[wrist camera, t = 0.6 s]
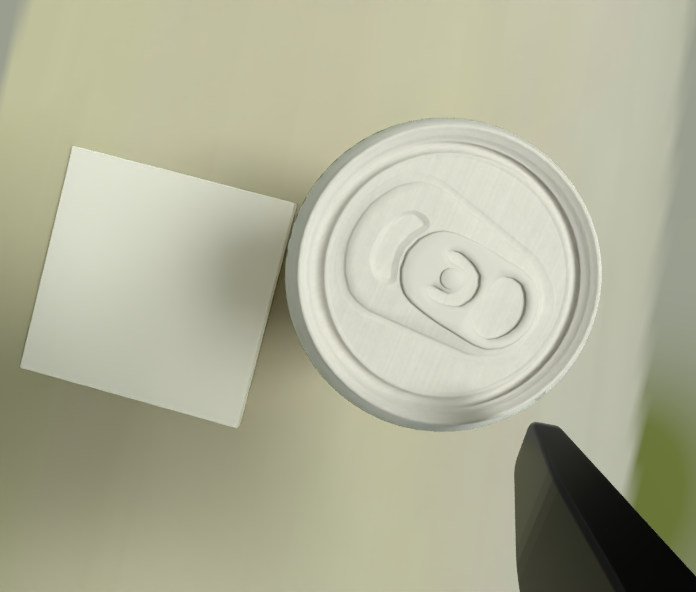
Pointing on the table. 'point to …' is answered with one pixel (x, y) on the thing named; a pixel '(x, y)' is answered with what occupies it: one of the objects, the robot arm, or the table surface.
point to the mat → (157, 286)
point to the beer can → (443, 274)
